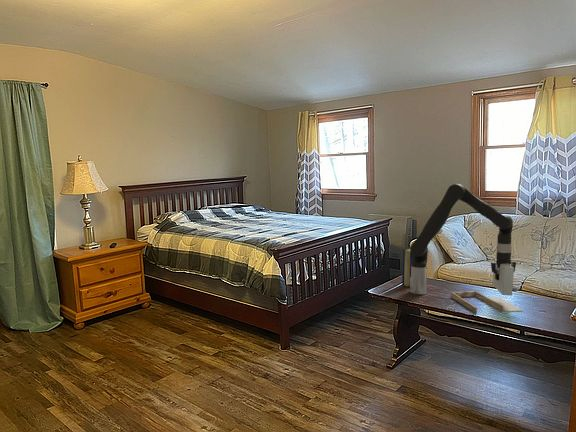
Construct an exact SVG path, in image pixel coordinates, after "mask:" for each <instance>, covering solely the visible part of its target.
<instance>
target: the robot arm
mask: <svg viewBox="0 0 576 432" xmlns="http://www.w3.org/2000/svg"><path fill="white" fill-rule="evenodd" d="M459 200H460V201H461V202H463V203H465V204H467V205H469V206H470V207H471V208H472V209H473V210H475V212H476V213H479V215H481V216H483V217H484V218H486V219H488V220H489V221H490V222H491V223H493V224H494V225H495V226H496V227H498V230H499V231H498V234H497V240H496V241H497V242H496V243H497V244H496V257H495V258H496V259H497V260H496V262H494V261H491V262H490V269H491V273H495V279H496V280H499V272H500V264H509V265H511V266H512V267H514V273H515V271H516V266H517V262H515V261H514V260H512V232H513V226H514V225H513V224H514V221H513V218H512V216H509V215H504V214H502V213H500V212H499V211H498V209H497V208H494V207H493V206H492V205H490V204H489V203H487V202H485V201H484V200H482V199H480V198H479V197H478V196H475V195H474V194H473V193H472V192H471V191H469V190H468V189H467V188H466V187H465V186H464V185H463V184H460V183H454V184H451V185H450V186H449V187H448V188H447V190H446V192H445V194H444V196H443V198H442V200H441V202H440V203H439V204H438V205H437V207H436V208H435V209H434V211H433V212H432V213H431V215H430V217H429V218H428V219H427V221H426V223H425V225H424V226H423V228H422V230H421V233H420V234H419V236H418V237H417V238H416V239H415V241H413V243H412V244H411V245H410V247H409V248H410V251H411V254H412V255H413V258H412V262H411V277H410V286H409V292H410V293H411V294H412V295H425V294H426V293H427V262H428V251H429V250H428V246H429V244H430V243H431V242H432V240H433V239H434V237H436V235H437V234H438V233H439V232H440V231H441V229H442V228H443V227H444V226H445V224H446V222H447V221H448V218H449V216H450V213H451V211H452V209H453V207H454V206H455V204H456V203H457V202H458V201H459ZM511 260H512V261H511ZM496 264H497V267H495V266H496Z"/></svg>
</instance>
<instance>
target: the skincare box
mask: <svg viewBox="0 0 576 432" xmlns="http://www.w3.org/2000/svg"><path fill="white" fill-rule="evenodd" d="M496 260H497V259H494V260H493V262H496ZM495 267H497V264H496V266H495ZM492 273H493V272H492ZM514 273H515V272H514V267H512V266H511V264H510V265H509V264H500V272H499V280H496V279H495V273H493V274H492V275H493V276H492V286H493V287H494V288H495V289H496V290H497V291H498V292H499V293H500V294H501V295H502V296H513V287H514Z"/></svg>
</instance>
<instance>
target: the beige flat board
mask: <svg viewBox="0 0 576 432" xmlns="http://www.w3.org/2000/svg"><path fill="white" fill-rule="evenodd" d="M489 298H490V299H491V300H493V301H495V302H497V303H498V304H500V305H502V306H503V312H505V313H511V312H515V313H517V312H523V311H524V310H523V308H520V307H518V306H516V305H514V304H513V303H510V301H508V300H505V299H504V298H502V297H501V296H496V297H495V296H494V297H490V296H489Z"/></svg>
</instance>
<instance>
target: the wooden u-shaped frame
mask: <svg viewBox="0 0 576 432" xmlns="http://www.w3.org/2000/svg"><path fill="white" fill-rule="evenodd" d="M450 297H451V298H452V299H454V300H455V301H456V302H458V303H459V304H461V305H462V306H464V307H465V308H467V309H468V310H470V311H471V312H473V313H474V314H477V313H478V308H477V306H475V305H473V304H472V303H470V302H469V301H468V300H466V299H465V298H467V297H468V298H469V297H476V298H477V299H478V300H479V299H480V300H481V301H483V302H485V303H486V304H488V305H490V306H491V307H493V308H495V309H496V310H498V311H500V312H501V313H502V312H504V311H503V306H502V305H500V304H498V303H497V302H495V301H493V300H491V299H490V297H488V296H486V295H484V294H482V293H481V292H479V291H477V290H472V291H451V293H450Z"/></svg>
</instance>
